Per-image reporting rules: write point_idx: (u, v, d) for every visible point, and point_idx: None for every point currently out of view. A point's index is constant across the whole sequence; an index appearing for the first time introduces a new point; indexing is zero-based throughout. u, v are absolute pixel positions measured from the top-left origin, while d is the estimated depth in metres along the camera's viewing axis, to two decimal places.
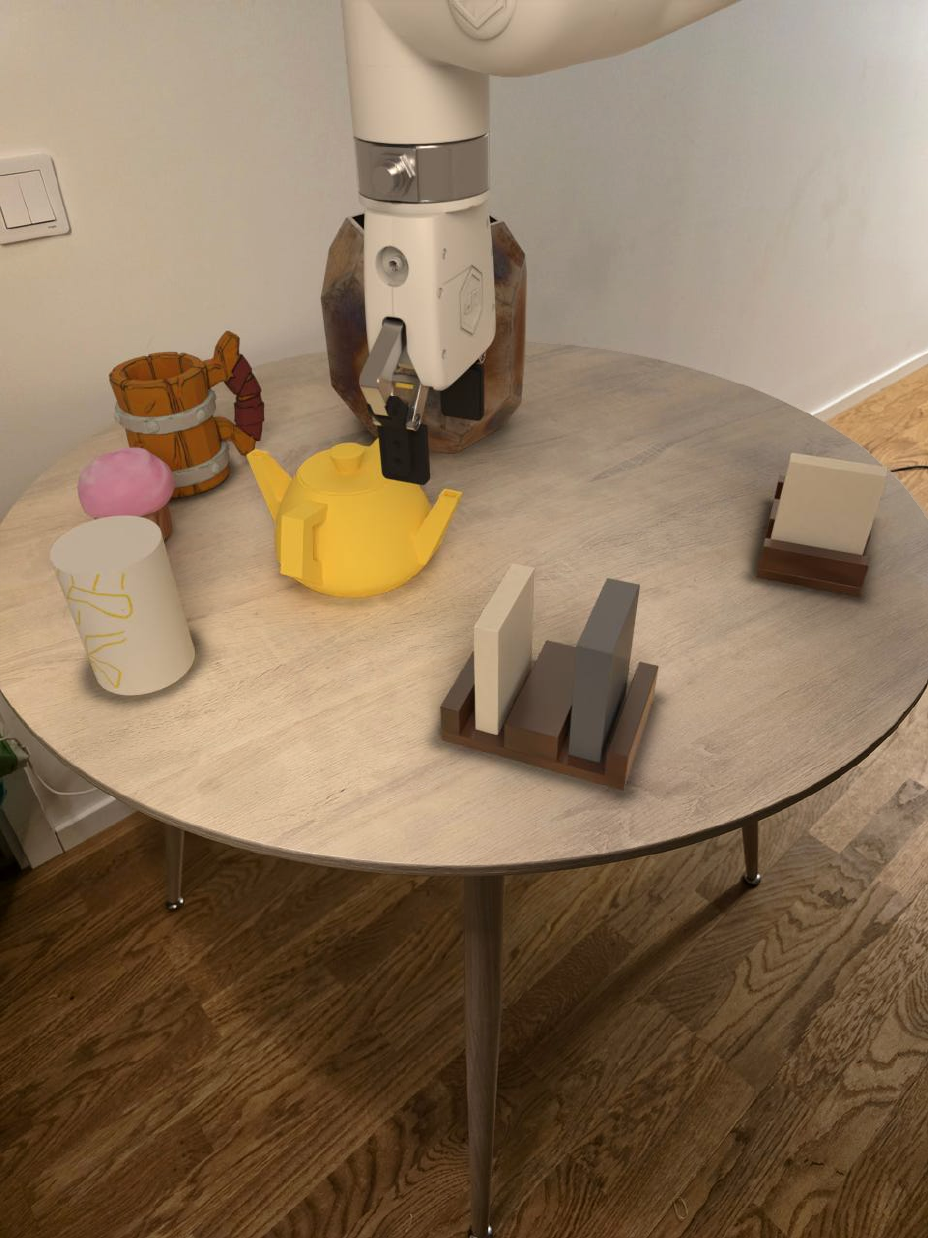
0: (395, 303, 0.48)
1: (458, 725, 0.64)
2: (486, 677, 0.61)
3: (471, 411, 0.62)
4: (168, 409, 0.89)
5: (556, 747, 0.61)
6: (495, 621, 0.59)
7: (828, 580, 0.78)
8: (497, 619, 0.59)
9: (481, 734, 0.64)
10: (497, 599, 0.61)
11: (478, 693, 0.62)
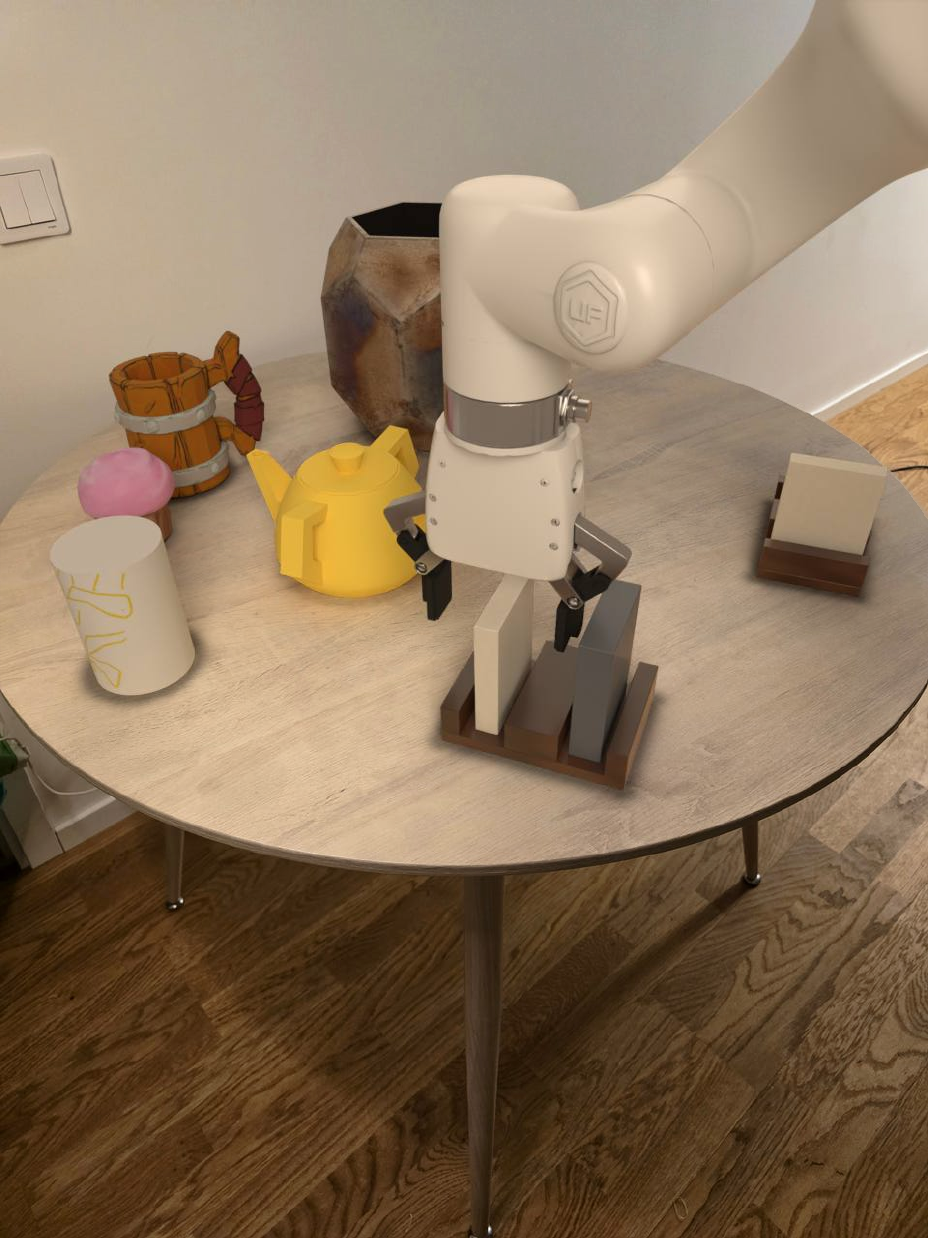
0: (579, 502, 0.55)
1: (458, 725, 0.64)
2: (486, 677, 0.61)
3: (449, 596, 0.64)
4: (168, 409, 0.89)
5: (556, 747, 0.61)
6: (495, 621, 0.59)
7: (828, 580, 0.78)
8: (497, 619, 0.59)
9: (481, 734, 0.64)
10: (497, 599, 0.61)
11: (478, 693, 0.62)
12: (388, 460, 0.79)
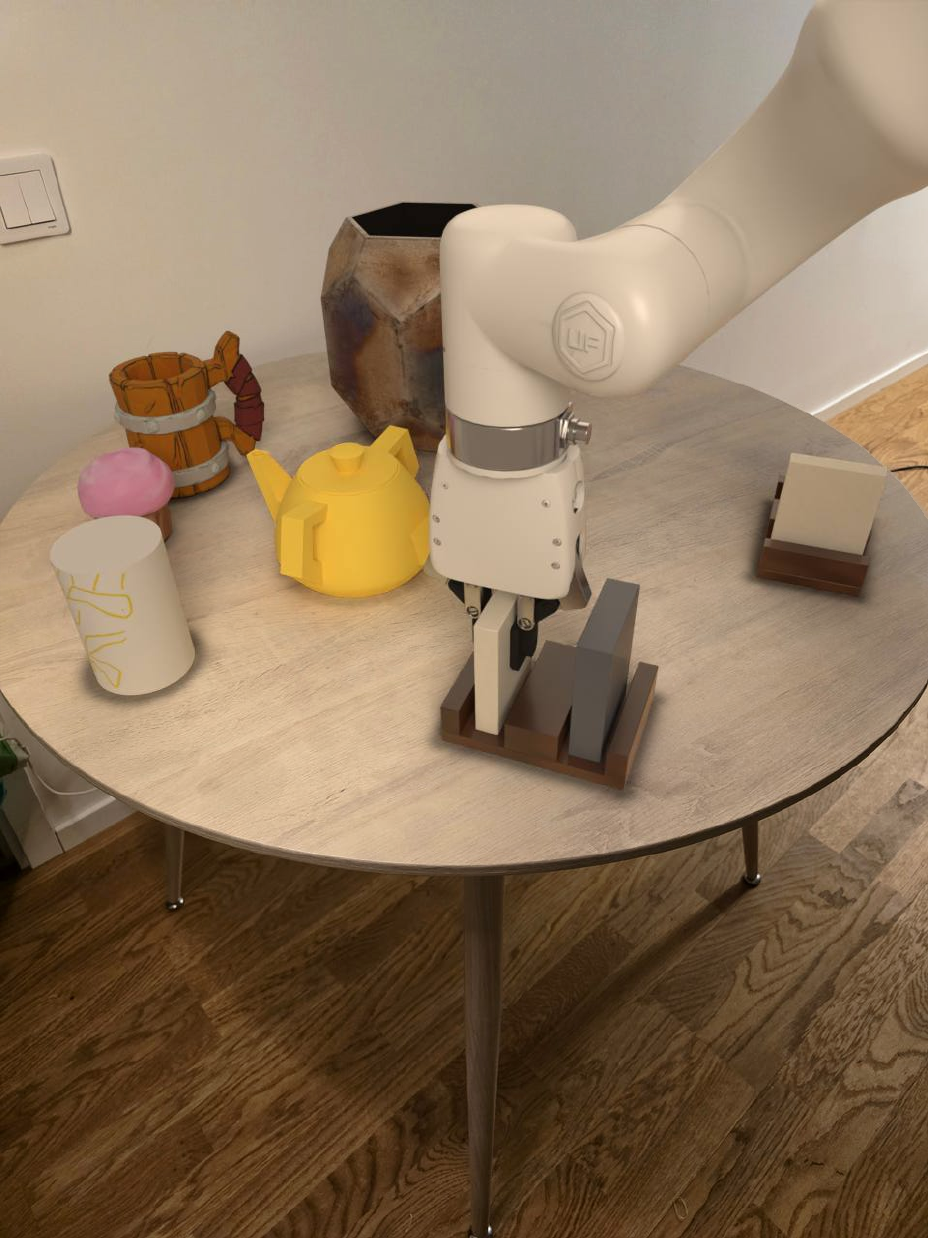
0: (580, 522, 0.55)
1: (458, 725, 0.64)
2: (486, 677, 0.61)
3: None
4: (168, 409, 0.89)
5: (556, 747, 0.61)
6: (495, 621, 0.59)
7: (828, 580, 0.78)
8: (497, 619, 0.59)
9: (481, 734, 0.64)
10: (497, 599, 0.61)
11: (478, 693, 0.62)
12: (388, 460, 0.79)
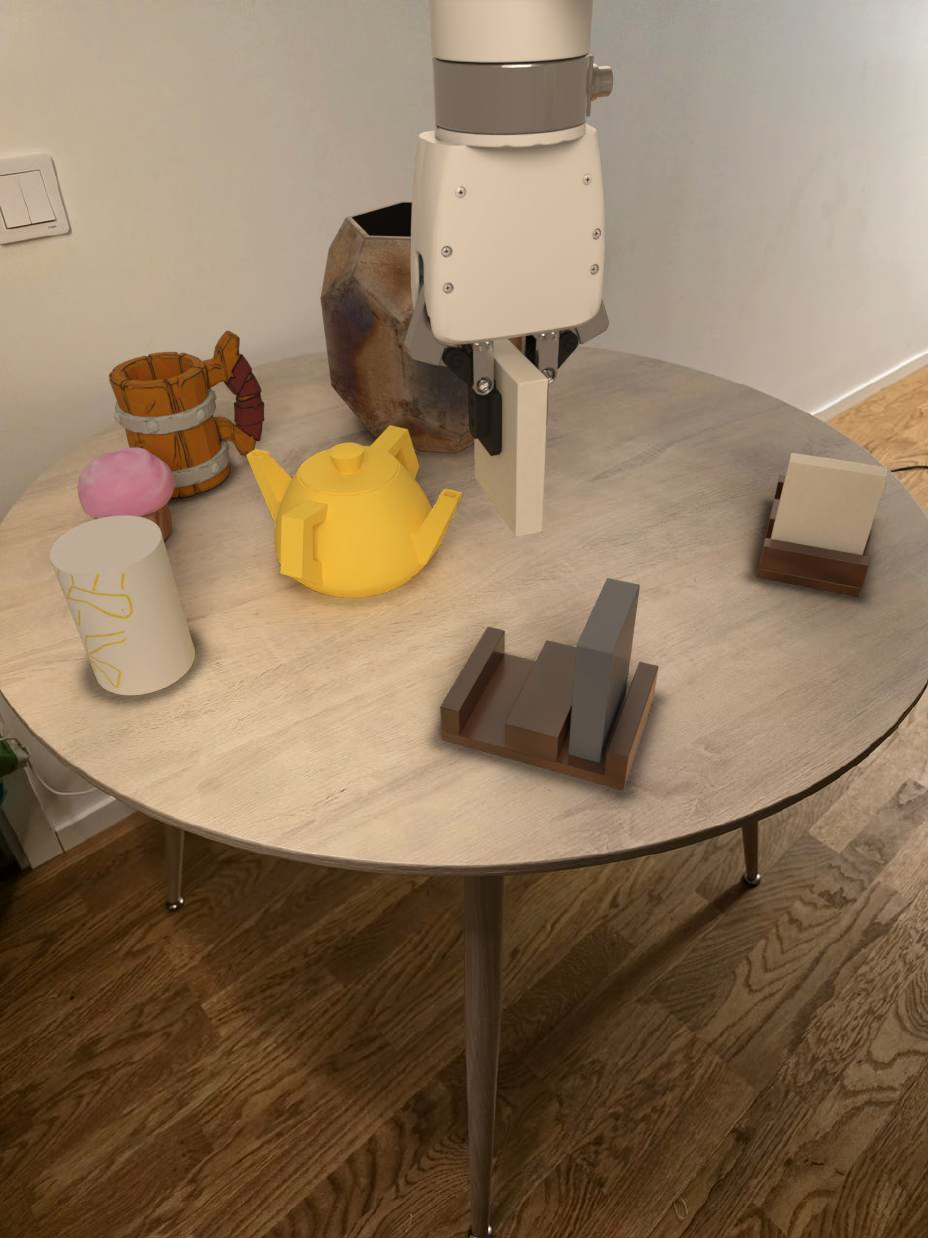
0: None
1: (458, 725, 0.64)
2: (532, 453, 0.50)
3: None
4: (168, 409, 0.89)
5: (556, 747, 0.61)
6: (532, 373, 0.48)
7: (828, 580, 0.78)
8: (532, 371, 0.48)
9: (481, 734, 0.64)
10: (506, 359, 0.50)
11: (521, 482, 0.51)
12: (388, 460, 0.79)
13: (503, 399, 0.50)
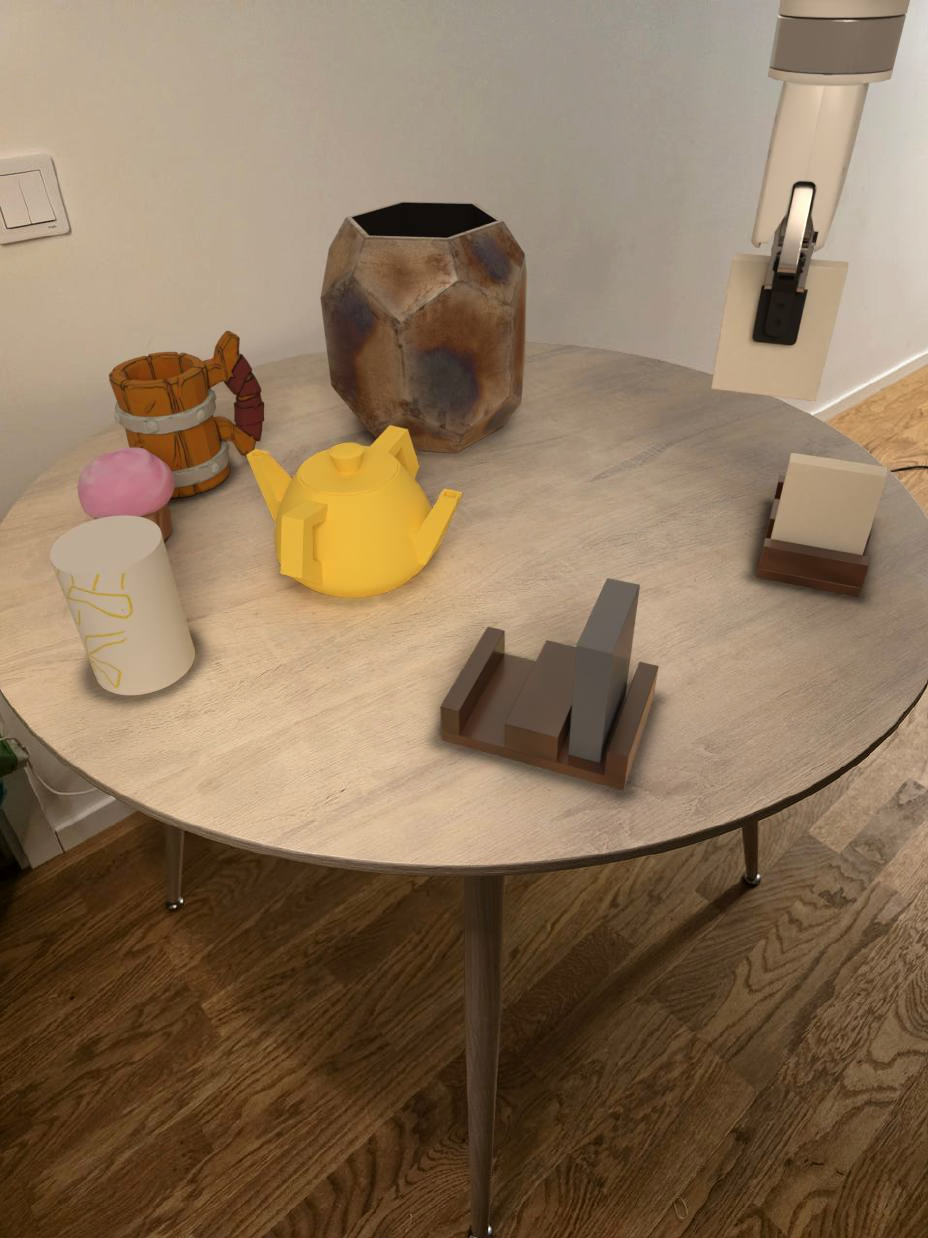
0: None
1: (458, 725, 0.64)
2: None
3: None
4: (168, 409, 0.89)
5: (556, 747, 0.61)
6: (833, 262, 0.62)
7: (828, 580, 0.78)
8: (831, 262, 0.62)
9: (481, 734, 0.64)
10: None
11: None
12: (388, 460, 0.79)
13: (809, 292, 0.63)
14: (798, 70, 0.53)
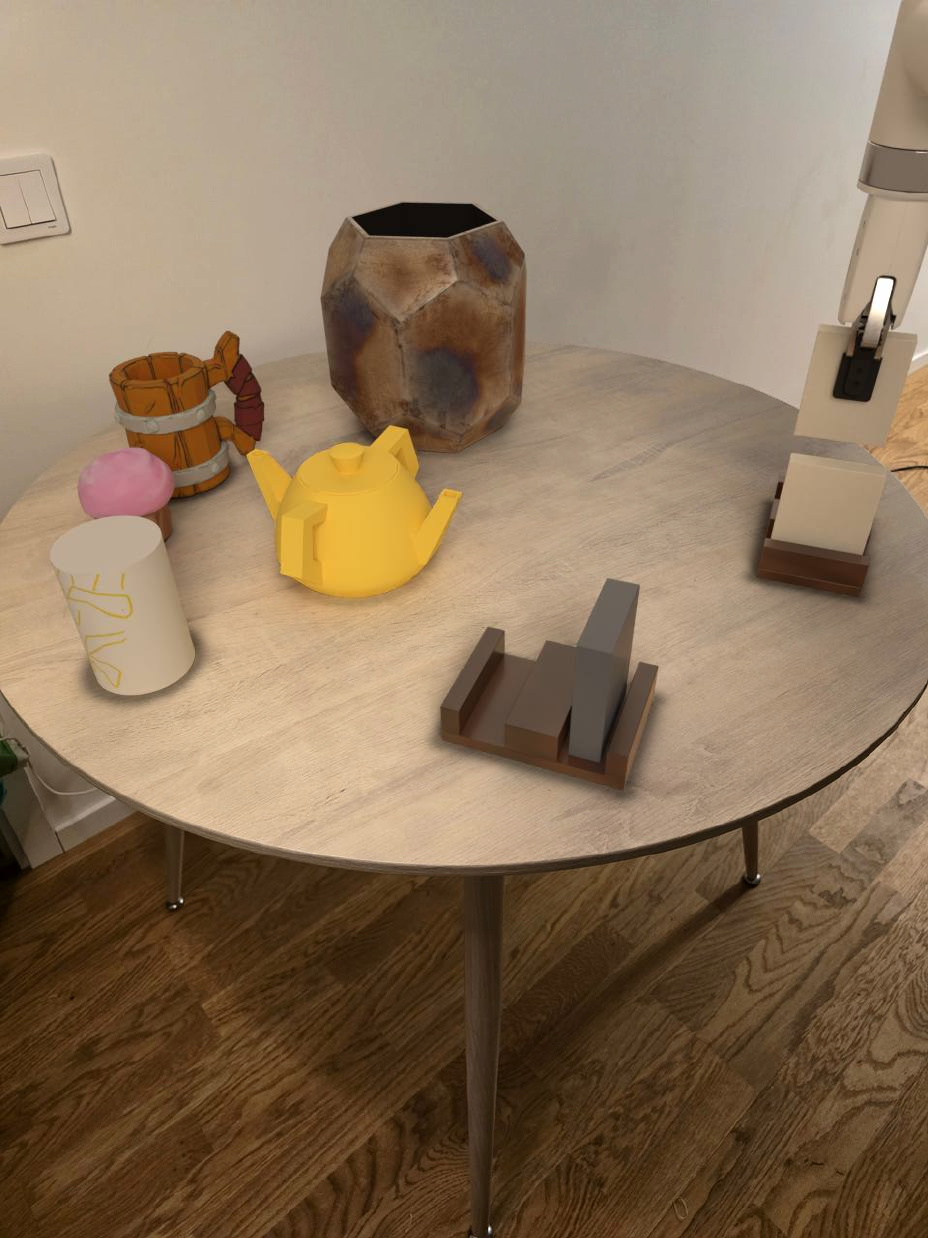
0: None
1: (458, 725, 0.64)
2: None
3: None
4: (168, 409, 0.89)
5: (556, 747, 0.61)
6: (904, 334, 0.74)
7: (828, 580, 0.78)
8: (902, 334, 0.74)
9: (481, 734, 0.64)
10: None
11: (896, 407, 0.77)
12: (388, 460, 0.79)
13: (883, 358, 0.75)
14: (885, 187, 0.65)
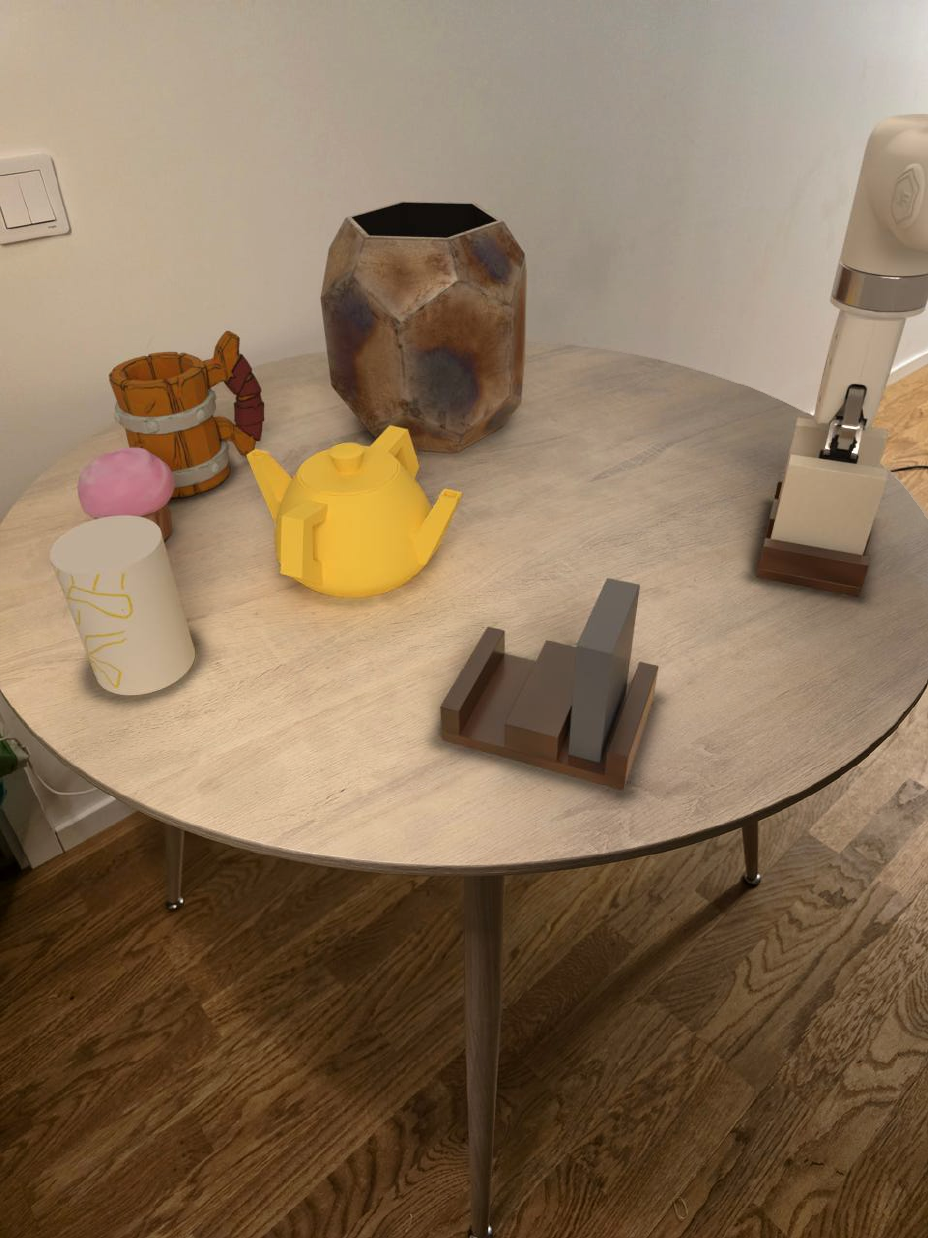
0: None
1: (458, 725, 0.64)
2: None
3: None
4: (168, 409, 0.89)
5: (556, 747, 0.61)
6: (876, 430, 0.80)
7: (828, 580, 0.78)
8: (874, 429, 0.80)
9: (481, 734, 0.64)
10: None
11: None
12: (388, 460, 0.79)
13: None
14: (855, 306, 0.71)
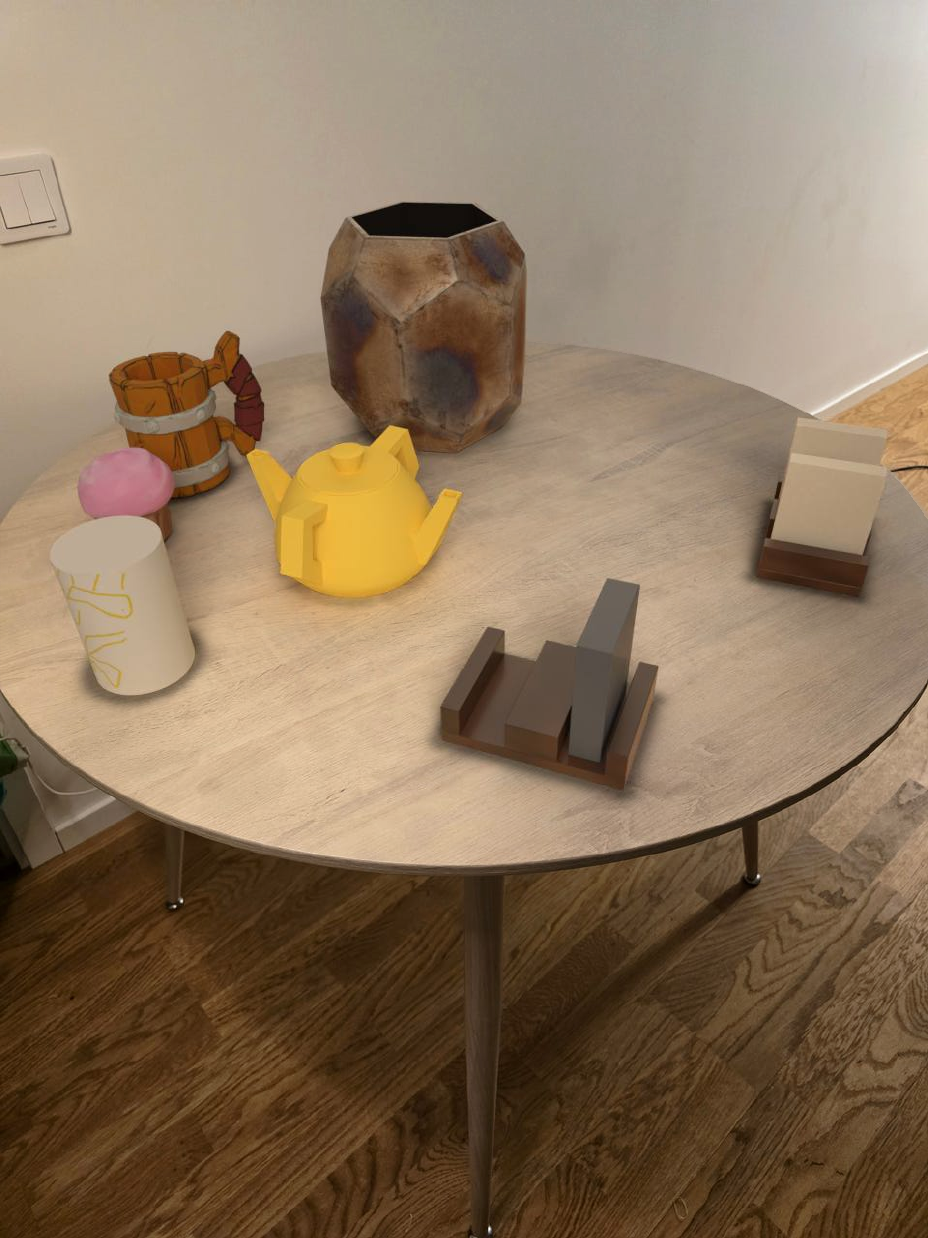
0: None
1: (458, 725, 0.64)
2: None
3: None
4: (168, 409, 0.89)
5: (556, 747, 0.61)
6: (876, 430, 0.80)
7: (828, 580, 0.78)
8: (874, 429, 0.80)
9: (481, 734, 0.64)
10: (849, 429, 0.80)
11: None
12: (388, 460, 0.79)
13: (856, 452, 0.80)
14: None
